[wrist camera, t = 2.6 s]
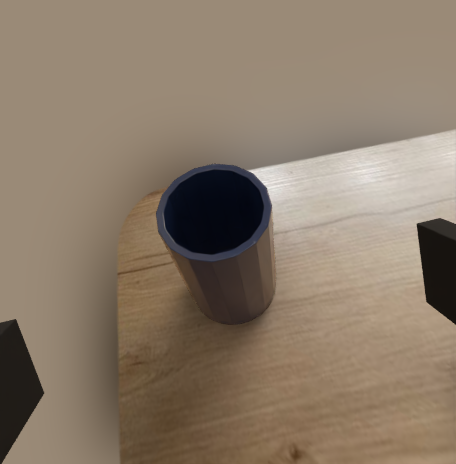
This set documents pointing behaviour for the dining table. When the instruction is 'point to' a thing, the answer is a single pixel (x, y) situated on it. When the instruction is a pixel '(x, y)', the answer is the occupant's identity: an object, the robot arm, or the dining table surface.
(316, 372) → the dining table surface
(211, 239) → the cup
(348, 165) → the dining table surface
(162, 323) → the dining table surface
